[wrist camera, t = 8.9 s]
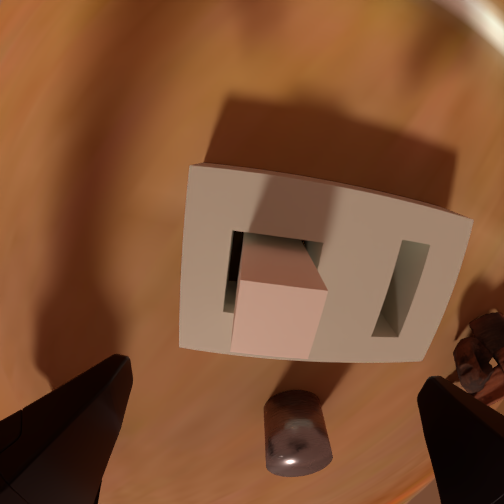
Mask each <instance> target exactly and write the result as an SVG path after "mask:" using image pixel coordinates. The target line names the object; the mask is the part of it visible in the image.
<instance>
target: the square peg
mask: <svg viewBox="0 0 504 504" xmlns="http://www.w3.org/2000/svg"><path fill="white" fill-rule="evenodd" d="M327 294H328V289H327V287H326V286H325V284H324V282H323V280H322V278H321V276H320V274H319V272H318V270H317V269H316V267H315V265H314V263H313V261H312V259H311V257H310V256H309V254H308V252H307V250H306V248H305V247H304V245H303V243H302V241H301V240H300V239H293V238H286V237H278V236H271V235H263V234H256V233H248V232H244V235H243V242H242V249H241V256H240V263H239V270H238V278H237V288H236V298H235V308H234V318H233V328H232V338H231V348H230V352H237V353H245V354H254V355H263V356H274V357H285V358H299V359H308V357H309V354H310V351H311V348H312V345H313V342H314V338H315V335H316V332H317V328H318V325H319V322H320V318H321V315H322V312H323V308H324V305H325V301H326V297H327Z"/></svg>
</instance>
